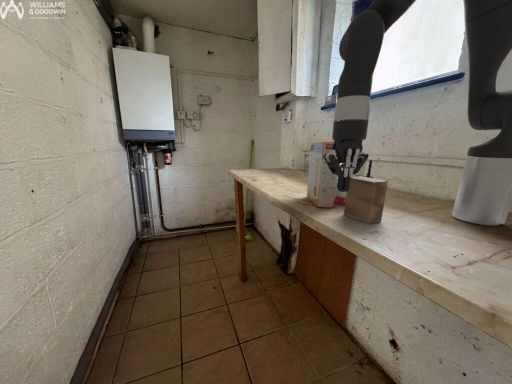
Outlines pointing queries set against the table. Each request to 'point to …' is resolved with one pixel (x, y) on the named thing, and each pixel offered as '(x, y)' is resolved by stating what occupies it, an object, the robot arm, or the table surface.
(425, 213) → the table surface
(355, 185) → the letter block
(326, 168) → the cracker box
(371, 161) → the walkie-talkie
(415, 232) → the table surface
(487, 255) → the table surface
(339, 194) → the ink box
